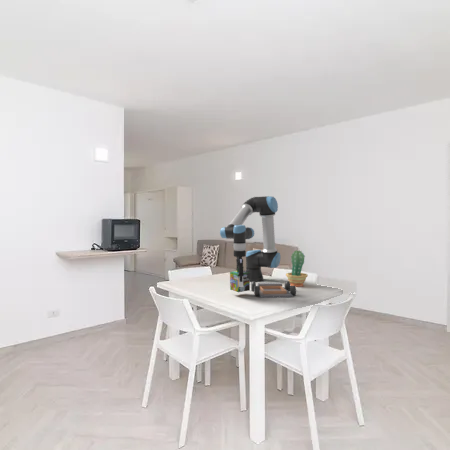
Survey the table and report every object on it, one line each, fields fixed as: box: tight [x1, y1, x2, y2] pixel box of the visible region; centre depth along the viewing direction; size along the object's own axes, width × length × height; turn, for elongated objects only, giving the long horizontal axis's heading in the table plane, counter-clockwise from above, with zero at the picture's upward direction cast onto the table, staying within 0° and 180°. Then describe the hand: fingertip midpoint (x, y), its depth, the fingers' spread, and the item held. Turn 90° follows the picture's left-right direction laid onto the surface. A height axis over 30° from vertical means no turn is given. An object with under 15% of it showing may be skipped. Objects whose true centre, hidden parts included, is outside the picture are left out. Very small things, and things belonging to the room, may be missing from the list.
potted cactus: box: [285, 249, 309, 288], centre depth 229 cm, size 15×15×25 cm
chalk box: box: [229, 266, 251, 293], centre depth 199 cm, size 9×9×15 cm
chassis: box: [250, 280, 297, 299], centre depth 206 cm, size 24×25×6 cm
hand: (239, 284), depth 199 cm, fingers closed on chalk box, 12 cm apart
